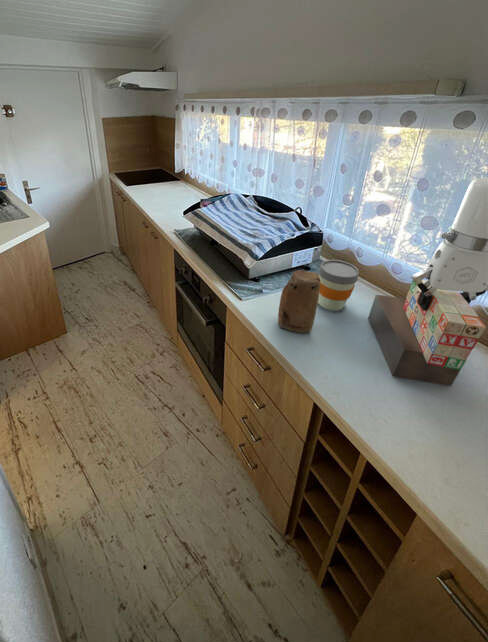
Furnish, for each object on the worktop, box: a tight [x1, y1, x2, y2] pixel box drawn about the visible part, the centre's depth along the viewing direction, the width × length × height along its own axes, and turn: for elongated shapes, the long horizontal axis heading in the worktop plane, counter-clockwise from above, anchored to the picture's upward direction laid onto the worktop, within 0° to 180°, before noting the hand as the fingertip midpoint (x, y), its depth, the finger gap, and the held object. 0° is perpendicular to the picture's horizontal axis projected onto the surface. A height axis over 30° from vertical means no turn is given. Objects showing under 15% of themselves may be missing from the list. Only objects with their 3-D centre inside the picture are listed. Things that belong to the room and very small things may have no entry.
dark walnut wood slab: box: [367, 294, 468, 387], centre depth 90 cm, size 14×25×10 cm, turn 167°
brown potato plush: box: [277, 269, 320, 334], centre depth 97 cm, size 11×8×20 cm
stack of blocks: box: [403, 279, 486, 371], centre depth 72 cm, size 21×6×12 cm, turn 161°
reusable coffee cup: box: [318, 259, 359, 312], centre depth 109 cm, size 13×13×15 cm
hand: (439, 308), depth 71 cm, fingers closed on stack of blocks, 6 cm apart
